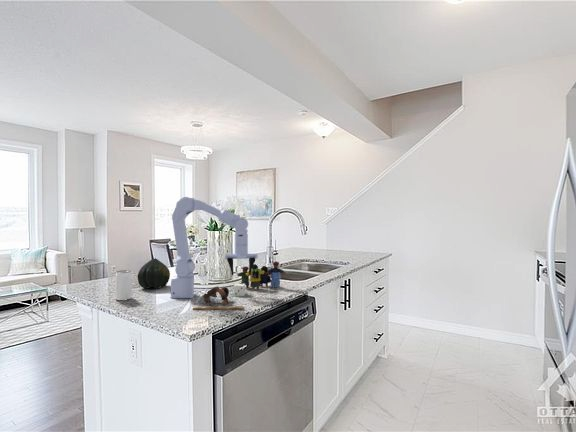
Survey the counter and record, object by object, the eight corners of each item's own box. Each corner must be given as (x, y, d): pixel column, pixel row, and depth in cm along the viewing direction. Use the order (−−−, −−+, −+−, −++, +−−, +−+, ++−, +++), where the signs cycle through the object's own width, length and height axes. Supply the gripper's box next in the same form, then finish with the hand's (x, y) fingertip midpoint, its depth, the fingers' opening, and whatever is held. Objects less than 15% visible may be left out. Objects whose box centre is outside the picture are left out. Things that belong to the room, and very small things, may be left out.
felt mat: (230, 297, 143) (230, 296, 143) (233, 293, 150) (233, 292, 150) (246, 297, 143) (246, 296, 143) (248, 293, 150) (248, 292, 150)
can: (135, 298, 142) (135, 270, 142) (122, 301, 136) (122, 273, 136) (125, 296, 145) (125, 269, 145) (111, 300, 139) (111, 271, 139)
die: (233, 296, 144) (233, 285, 144) (235, 293, 149) (235, 283, 149) (244, 296, 144) (244, 285, 144) (245, 293, 149) (245, 283, 149)
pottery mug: (221, 310, 127) (211, 292, 126) (206, 317, 131) (195, 299, 131) (238, 295, 137) (228, 278, 137) (223, 302, 142) (213, 286, 141)
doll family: (278, 284, 170) (279, 258, 170) (286, 288, 162) (286, 261, 162) (236, 289, 159) (236, 261, 159) (242, 293, 151) (242, 264, 151)
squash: (148, 281, 150) (164, 254, 160) (126, 280, 157) (142, 254, 166) (166, 296, 160) (180, 270, 169) (145, 294, 166) (159, 269, 175)
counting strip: (192, 309, 125) (192, 307, 125) (194, 308, 127) (194, 306, 127) (242, 309, 125) (242, 307, 125) (243, 308, 127) (243, 306, 127)
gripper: (225, 245, 141) (224, 277, 141) (258, 245, 144) (258, 275, 144) (224, 244, 148) (224, 274, 148) (256, 243, 151) (256, 272, 151)
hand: (241, 274), depth 146 cm, fingers open, 7 cm apart
